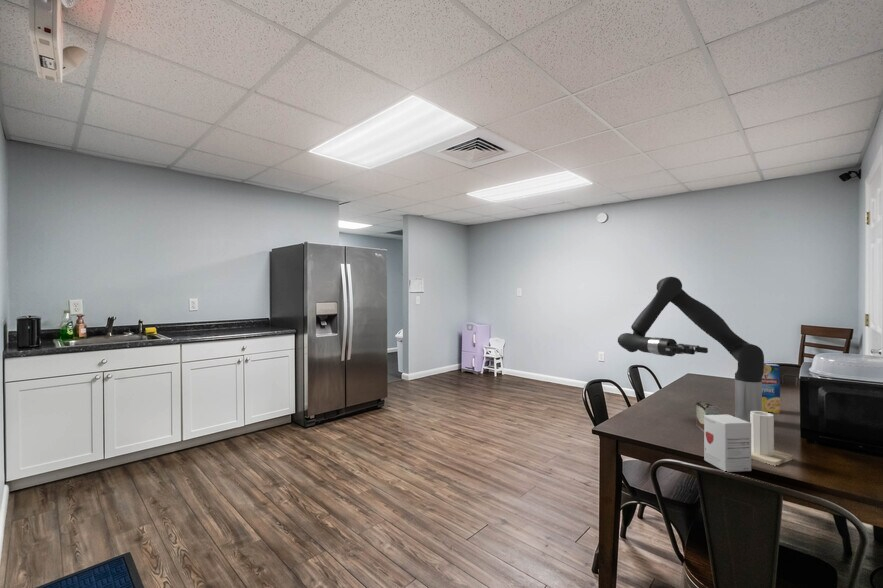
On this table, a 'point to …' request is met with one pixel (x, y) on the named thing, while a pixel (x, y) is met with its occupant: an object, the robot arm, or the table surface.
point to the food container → (704, 412)
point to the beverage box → (771, 388)
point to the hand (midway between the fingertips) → (700, 351)
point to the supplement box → (727, 442)
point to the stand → (772, 458)
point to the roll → (762, 433)
